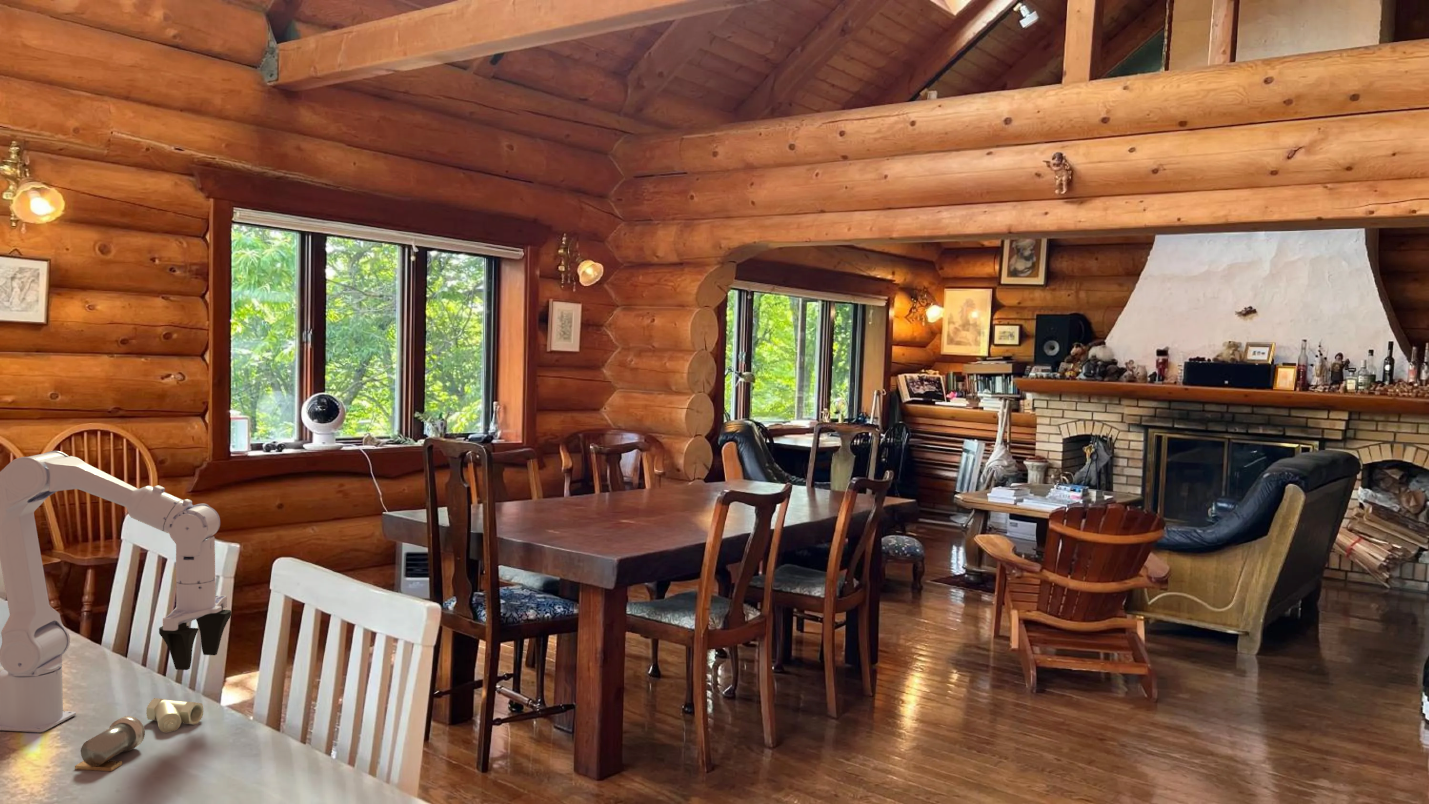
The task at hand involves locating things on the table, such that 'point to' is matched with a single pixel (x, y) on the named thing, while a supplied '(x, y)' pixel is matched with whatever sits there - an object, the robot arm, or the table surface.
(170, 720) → the pipe fitting
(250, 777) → the table surface
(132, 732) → the pipe stub
